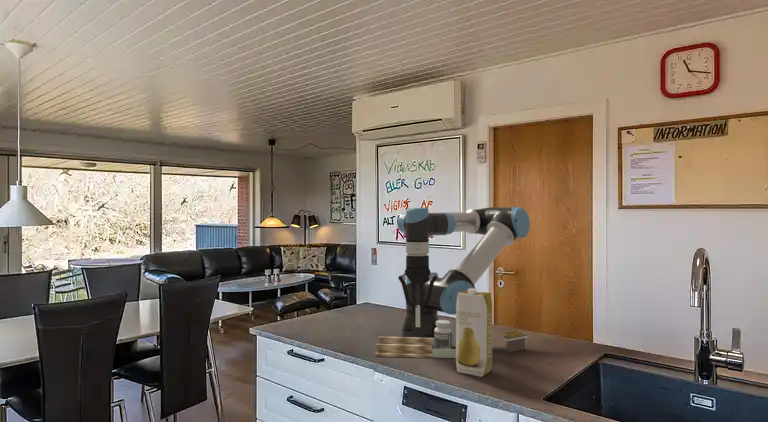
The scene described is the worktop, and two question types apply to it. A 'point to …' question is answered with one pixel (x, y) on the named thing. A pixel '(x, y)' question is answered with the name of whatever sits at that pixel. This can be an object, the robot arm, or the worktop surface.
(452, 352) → the tray
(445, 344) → the pill bottle
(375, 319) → the worktop surface
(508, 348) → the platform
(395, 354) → the slot rails
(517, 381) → the worktop surface
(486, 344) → the juice carton
